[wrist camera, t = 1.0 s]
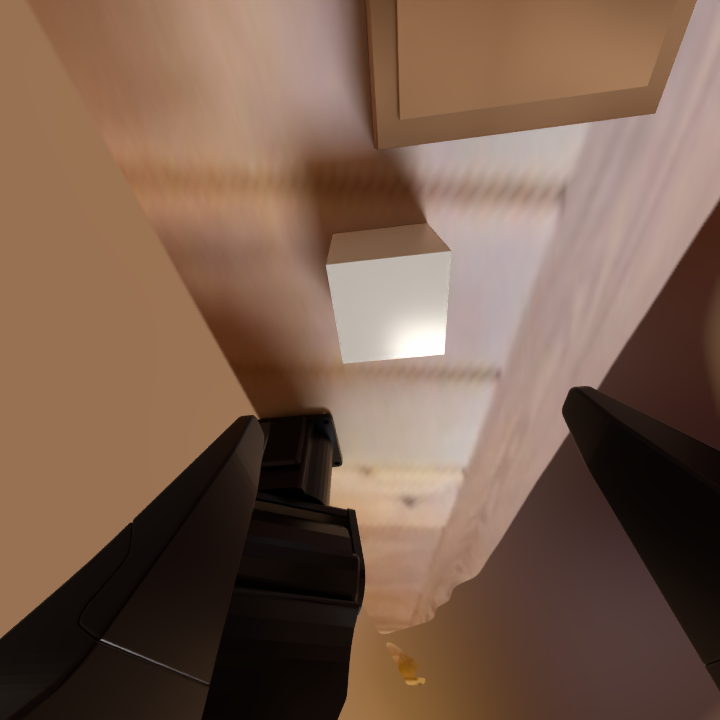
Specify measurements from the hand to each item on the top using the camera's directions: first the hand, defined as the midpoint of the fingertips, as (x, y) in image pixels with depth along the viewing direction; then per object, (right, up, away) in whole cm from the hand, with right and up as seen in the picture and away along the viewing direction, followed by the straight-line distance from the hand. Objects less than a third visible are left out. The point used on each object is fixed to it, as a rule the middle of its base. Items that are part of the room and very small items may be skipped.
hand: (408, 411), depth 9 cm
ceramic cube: (0, +7, +9) cm, 11 cm away
